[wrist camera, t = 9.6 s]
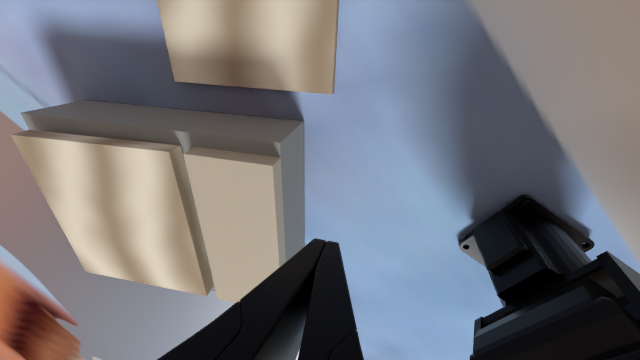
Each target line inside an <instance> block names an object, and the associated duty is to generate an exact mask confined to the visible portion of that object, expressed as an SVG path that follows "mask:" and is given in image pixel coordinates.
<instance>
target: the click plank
mask: <svg viewBox="0 0 640 360" xmlns="http://www.w3.org/2000/svg"><path fill="white" fill-rule="evenodd" d="M11 136H12V138H13V140H14V142H15V143H16V145H17V147H18V149H19V151H20V153H21V154H22V156H23V158H24V160H25V162H26V164H27V165H28V167H29V169H30V171H31V172H32V174H33V176H34V178H35V180H36V182H37V184H38V185H39V187H40V189H41V191H42V193H43V195H44V196H45V198H46V200H47V202H48V204H49V205H50V207H51V209H52V211H53V213H54V215H55V216H56V218H57V220H58V222H59V223H60V225H61V227H62V229H63V231H64V232H65V234H66V236H67V238H68V240H69V242H70V244H71V245H72V247H73V249H74V251H75V253H76V255H77V256H78V258H79V260H80V262H81V264H82V265H83V267H84V269H85V271H86V272H90V273H95V274H100V275H105V276H110V277H115V278H120V279H125V280H130V281H135V282H140V283H145V284H150V285H155V286H160V287H165V288H170V289H175V290H180V291H185V292H189V293H194V294H199V295H204V296H207V295H208V293H209V292H210V290H211V289H212V287H213V286H214V283H213V279H212V275H211V271H210V267H209V262H208V258H207V254H206V250H205V246H204V241H203V237H202V233H201V229H200V225H199V220H198V216H197V212H196V208H195V204H194V199H193V195H192V191H191V187H190V183H189V178H188V174H187V170H186V166H185V161H184V157H183V153H182V149H181V146H180V145H170V144H161V143H151V142H141V141H132V140H122V139H112V138H103V137H93V136H83V135H74V134H64V133H54V132H45V131H35V130H27V131H23V132H20V133H16V134H12V135H11Z"/></svg>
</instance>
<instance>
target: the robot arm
mask: <svg viewBox="0 0 640 360" xmlns="http://www.w3.org/2000/svg"><path fill="white" fill-rule="evenodd" d="M524 201H528V202H527V203H525V204H523V202H524ZM583 243H585V244H583ZM463 245H467V246H463ZM459 247H460V249H461V250H462V251H463V252H465V253H466V254H468V255H469V256H470V257H472V258H473V259H475V260H476V261H478V262H479V263H481V264H482V265H484V266H485V267H486V269H487V270H488V272H489V275H490V277H491V280H492V282H493V285H494V287H495V290H496V292H497V295H498V297H499V298H500V301H501V303H502V306H503V308H501V309H499V310H497V311H496V312H494V313H492V314H490V315H488V316H486V317H484V318H483V317H480V318H478V319H476V320H475V325H474V344H473V354H472V355H470V360H640V274H639V273H637V272H636V271H635V270H633V269H632V268H630V267H629V266H627V265H626V264H625V263H623V262H622V261H620V260H619V259H618V258H616V257H615V256H613V255H612V254H611V253H609V252H608V251H606V252H604V253H602V254H600V255H598V256H596V257H597V259H596V260H594V261H591V260H590V258H589V257H588V256H587V255H586V254H585V252H587V251H588V250H590V249H592V248H593V247H594V242H593V241H592V240H591V239H590V238H589V237H587V236H586V235H585V234H583V233H582V232H580V231H579V230H578V229H576V228H575V227H573V226H572V225H571V224H569V223H568V222H566V221H565V220H564V219H562V218H561V217H559V216H558V215H557V214H555V213H554V212H552V211H551V210H550V209H548V208H547V207H545V206H544V205H543V204H541V203H540V202H538V201H537V200H536V199H534V198H533V197H531V196H529V195H522V196H520V197H518V198H517V199H516V200H514V201H513V202H512V203H510V204H509V205H508V206H506V207H505V208H503V209H502V210H501V211H499V212H497V213H496V214H494V215H493V216H492V217H490V218H489V219H488V220H486V221H485V222H484V223H482V224H481V225H480V226H478V227H477V228H476V229H474V230H473V231H472V232H471V233H470V234H468V235H467V236H466V237H464V238H463V239H462V240H460V241H459ZM300 346H301V347H300ZM299 348H300V352H299V357H298V360H364V358H363V354H362V350H361V346H360V341H359V337H358V332H357V328H356V323H355V318H354V314H353V309H352V304H351V299H350V294H349V290H348V285H347V280H346V275H345V271H344V266H343V261H342V256H341V251H340V247H339V243H337V242H332V241H327V242H326V241H325V240H321V239H313V240H312V241H311V242H310V243H308V244H307V245H306V246H305V247H303V248H302V249H301V250H300V251H299V252H297V253H296V254H295V255H294V256H292V257H291V258H290V259H289V260H288V261H286V262H285V263H284V264H283V265H282V266H280V267H279V268H278V269H277V270H275V271H274V272H273V273H272V274H271V275H269V276H268V277H267V278H266V279H264V280H263V281H262V282H261V283H260V284H258V285H257V286H256V287H255V288H254V289H252V290H251V291H250V292H249V293H247V294H246V295H245V296H244V297H243V298H241V299H240V302H239V301H238V302H236V303H235V304H234V305H233V306H231V307H230V308H229V309H228V310H226V311H225V312H224V313H223V314H221V315H220V316H219V317H218V318H216V319H215V320H214V321H212V322H211V323H210V324H208V325H207V326H205V327H204V328H203V329H201V330H200V331H199V332H197V333H195V334H194V335H193V336H191V337H190V338H188V339H187V340H186V341H184V342H183V343H181V344H179V345H178V346H177V347H175V348H173V349H172V350H171V351H169V352H168V353H166V354H165V355H163V356H162V357H160V358H159V359H157V360H295V359H296V356H297V354H298V351H299Z"/></svg>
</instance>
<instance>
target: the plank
mask: <svg viewBox="0 0 640 360" xmlns="http://www.w3.org/2000/svg"><path fill="white" fill-rule="evenodd" d="M157 3H158V7H159V12H160V16H161V21H162V26H163V30H164V35H165V39H166V44H167V49H168V53H169V58H170V62H171V67H172V72H173V76H174V81H175V82H186V83H198V84H211V85H223V86H235V87H248V88H260V89H272V90H285V91H297V92H310V93H322V94H333V93H334V85H335V67H336V49H337V30H338V12H339V0H157Z"/></svg>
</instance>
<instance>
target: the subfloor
mask: <svg viewBox="0 0 640 360" xmlns="http://www.w3.org/2000/svg"><path fill="white" fill-rule="evenodd" d="M21 114H22V116H23V118H24V120H25V122H26V124H27V126H28V128H29V130H35V131H45V132H54V133H64V134H74V135H83V136H93V137H103V138H112V139H122V140H132V141H141V142H151V143H161V144H170V145H180V146H181V149H182V153H183V157H184V161H185V166H186V170H187V174H188V178H189V183H190V187H191V191H192V195H193V199H194V204H195V208H196V212H197V216H198V220H199V225H200V229H201V233H202V237H203V241H204V246H205V250H206V254H207V258H208V262H209V267H210V271H211V275H212V279H213V283H214V286H213V287H212V289H211V290H213V291H216V295H217V298H218V299H221V300H225V301H229V302H233V303H236V302H238V301H239V302H240V299H241V298H243V297H244V296H245V295H246V294H247V293H249V292H250V291H251V290H252V289H254V288H255V287H256V286H257V285H258V284H260V283H261V282H262V281H263V280H264V279H266V278H267V277H268V276H269V275H271V274H272V273H273V272H274V271H275V270H277V269H278V268H279V267H280V266H282V265H283V264H284V263H285V262H286V261H288V260H289V259H290V258H291V257H292V256H294V255H295V254H296V253H297V252H299V251H300V250H301V249H302V248H303V247H305V231H304V121H297V120H287V119H277V118H266V117H256V116H245V115H235V114H225V113H214V112H204V111H193V110H183V109H173V108H162V107H152V106H141V105H131V104H121V103H110V102H100V101H89V100H84V101H78V102H73V103H68V104H63V105H58V106H53V107H48V108H43V109H38V110H33V111H28V112H23V113H21Z"/></svg>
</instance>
